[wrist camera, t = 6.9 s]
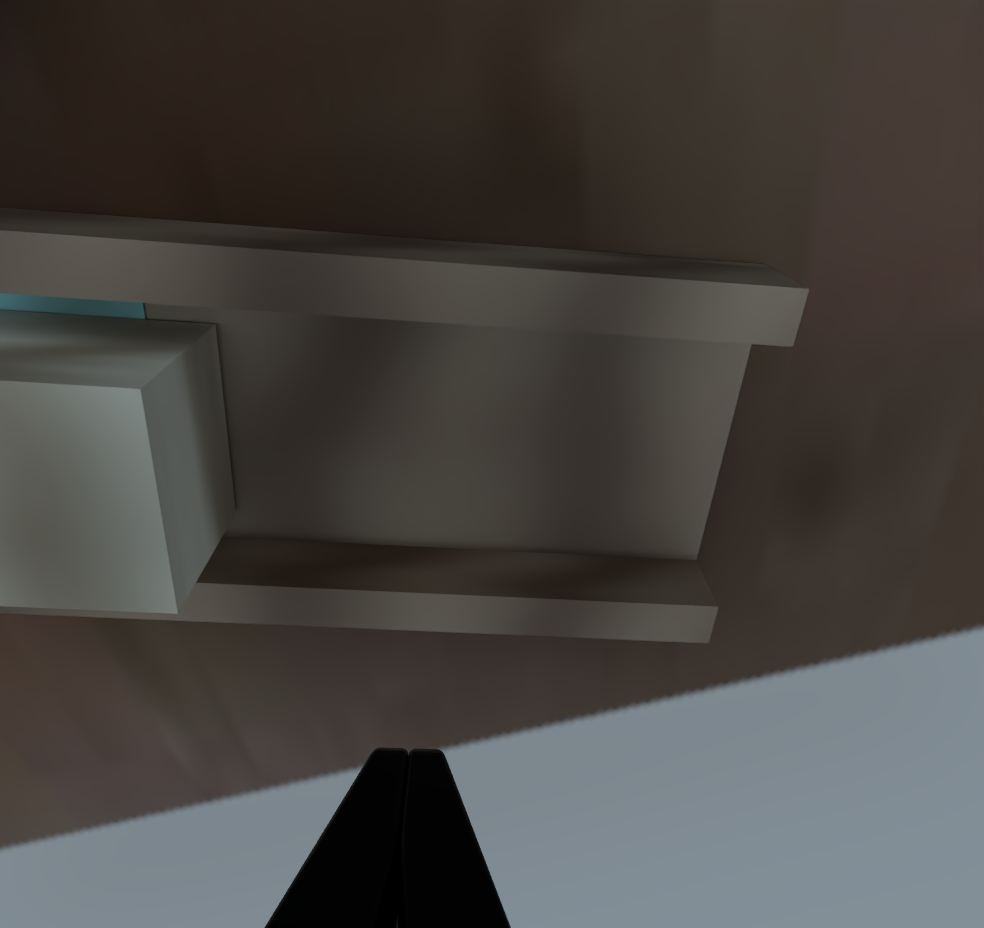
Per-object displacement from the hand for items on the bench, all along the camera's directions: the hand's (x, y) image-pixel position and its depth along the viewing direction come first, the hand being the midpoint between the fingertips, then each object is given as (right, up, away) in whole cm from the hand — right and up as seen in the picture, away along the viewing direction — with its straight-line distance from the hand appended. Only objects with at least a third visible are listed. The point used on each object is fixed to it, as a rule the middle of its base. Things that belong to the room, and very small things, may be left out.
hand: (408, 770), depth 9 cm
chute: (-3, +5, +9) cm, 11 cm away
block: (-8, +5, +8) cm, 12 cm away
